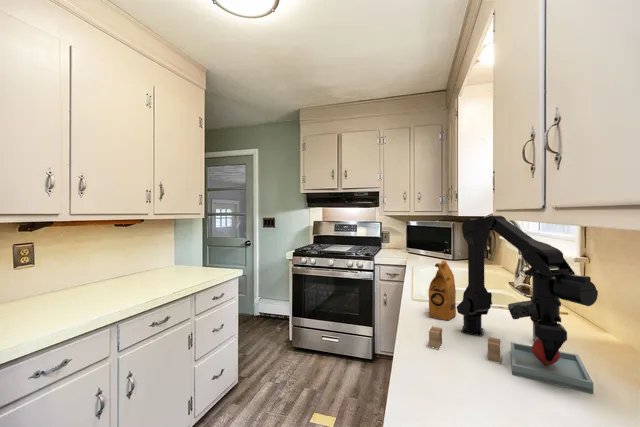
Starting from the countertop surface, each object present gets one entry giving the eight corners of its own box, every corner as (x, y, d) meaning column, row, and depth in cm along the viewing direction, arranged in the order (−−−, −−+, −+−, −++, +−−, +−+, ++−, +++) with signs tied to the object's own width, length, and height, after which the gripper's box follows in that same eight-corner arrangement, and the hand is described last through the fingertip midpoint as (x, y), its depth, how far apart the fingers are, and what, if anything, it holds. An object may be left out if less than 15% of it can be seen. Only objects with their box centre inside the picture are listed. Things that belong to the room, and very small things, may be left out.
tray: (510, 350, 89) (510, 342, 89) (578, 363, 80) (578, 354, 80) (512, 374, 76) (512, 364, 76) (593, 393, 67) (593, 382, 67)
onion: (550, 360, 81) (550, 331, 81) (565, 371, 75) (565, 340, 75) (527, 359, 81) (527, 330, 81) (541, 370, 76) (540, 339, 76)
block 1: (432, 341, 96) (432, 326, 96) (442, 343, 94) (442, 327, 94) (429, 347, 92) (428, 331, 92) (439, 349, 90) (439, 333, 90)
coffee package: (424, 316, 118) (423, 262, 118) (435, 308, 128) (434, 258, 128) (450, 322, 112) (449, 265, 112) (459, 313, 121) (458, 260, 121)
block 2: (488, 353, 87) (488, 336, 87) (500, 355, 86) (500, 338, 86) (487, 360, 83) (487, 342, 83) (500, 363, 82) (500, 345, 82)
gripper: (509, 283, 90) (509, 334, 90) (510, 299, 74) (511, 360, 74) (555, 288, 84) (555, 342, 84) (567, 306, 68) (567, 372, 68)
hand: (546, 353), depth 78 cm, fingers open, 9 cm apart
